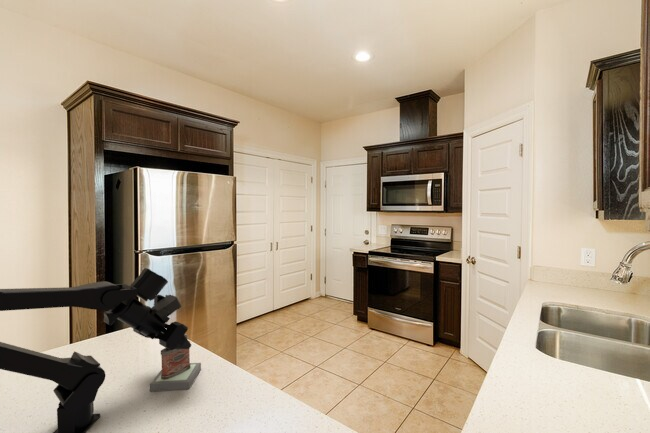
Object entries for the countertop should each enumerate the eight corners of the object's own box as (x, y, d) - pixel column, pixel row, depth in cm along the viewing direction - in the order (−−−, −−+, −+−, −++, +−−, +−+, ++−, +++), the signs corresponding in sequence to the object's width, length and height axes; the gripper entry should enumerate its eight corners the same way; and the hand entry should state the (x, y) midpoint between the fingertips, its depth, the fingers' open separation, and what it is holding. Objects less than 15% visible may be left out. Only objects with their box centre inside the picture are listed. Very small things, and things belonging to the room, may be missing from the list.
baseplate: (189, 389, 81) (188, 381, 81) (149, 391, 80) (149, 383, 80) (200, 369, 91) (200, 362, 91) (166, 371, 90) (165, 364, 90)
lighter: (165, 381, 81) (164, 344, 81) (158, 377, 83) (157, 341, 83) (192, 368, 88) (192, 334, 88) (186, 364, 90) (185, 331, 90)
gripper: (179, 294, 76) (218, 323, 86) (143, 283, 87) (181, 310, 97) (147, 336, 70) (192, 363, 80) (113, 319, 81) (156, 344, 90)
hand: (180, 342), depth 87 cm, fingers open, 9 cm apart
